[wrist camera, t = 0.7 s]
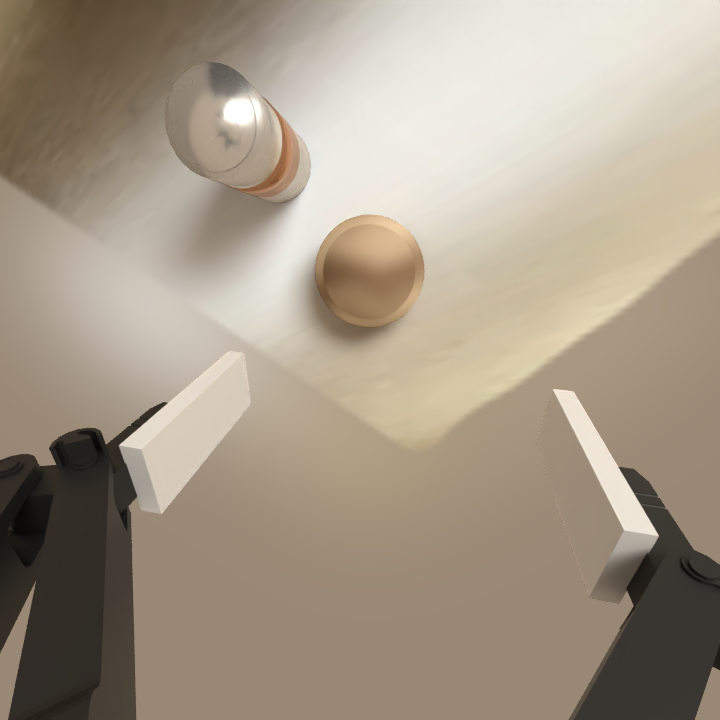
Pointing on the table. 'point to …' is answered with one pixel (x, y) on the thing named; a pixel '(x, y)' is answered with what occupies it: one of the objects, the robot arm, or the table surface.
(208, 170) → the can
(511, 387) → the table surface
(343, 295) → the stand
